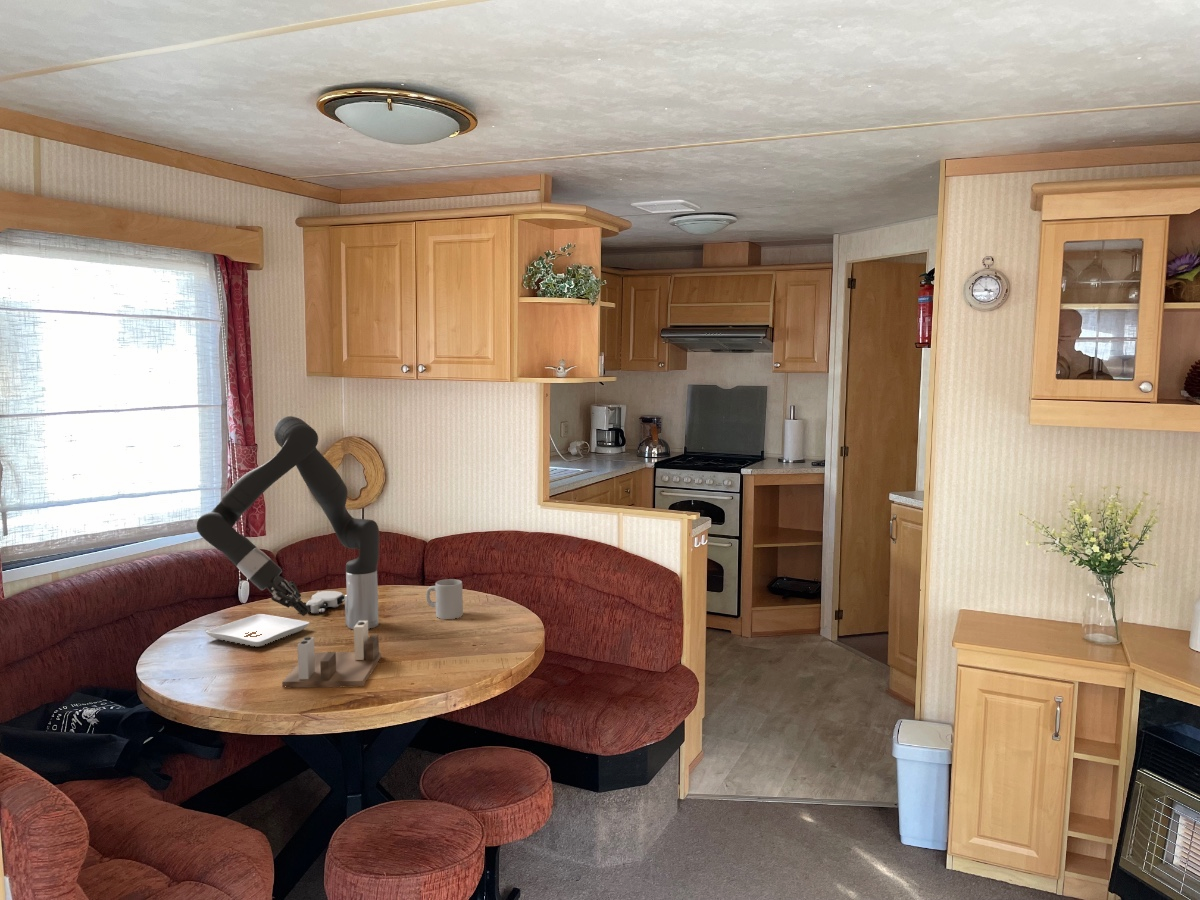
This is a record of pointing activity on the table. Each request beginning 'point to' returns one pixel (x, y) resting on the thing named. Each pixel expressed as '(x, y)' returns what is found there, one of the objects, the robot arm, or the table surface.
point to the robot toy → (325, 601)
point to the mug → (447, 598)
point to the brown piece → (338, 668)
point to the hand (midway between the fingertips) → (307, 613)
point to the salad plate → (257, 629)
